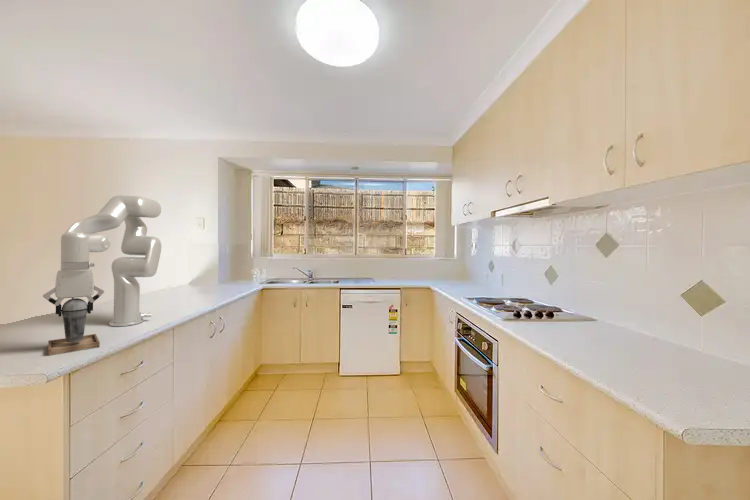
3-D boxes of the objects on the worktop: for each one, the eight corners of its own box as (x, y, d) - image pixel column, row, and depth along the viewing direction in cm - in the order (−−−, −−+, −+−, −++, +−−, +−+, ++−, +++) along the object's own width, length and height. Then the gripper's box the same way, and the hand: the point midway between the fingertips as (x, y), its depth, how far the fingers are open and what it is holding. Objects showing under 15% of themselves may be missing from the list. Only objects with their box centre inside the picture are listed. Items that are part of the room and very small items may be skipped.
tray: (95, 338, 123) (95, 333, 123) (99, 347, 114) (99, 341, 114) (48, 345, 113) (48, 340, 113) (48, 355, 104) (48, 349, 104)
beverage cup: (92, 338, 116) (93, 286, 116) (69, 344, 109) (70, 288, 109) (79, 336, 118) (80, 284, 118) (55, 341, 111) (56, 287, 111)
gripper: (105, 265, 122) (104, 309, 122) (40, 266, 109) (40, 316, 110) (107, 266, 117) (107, 312, 117) (40, 268, 104) (39, 320, 105)
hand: (74, 313), depth 114 cm, fingers closed on beverage cup, 7 cm apart
